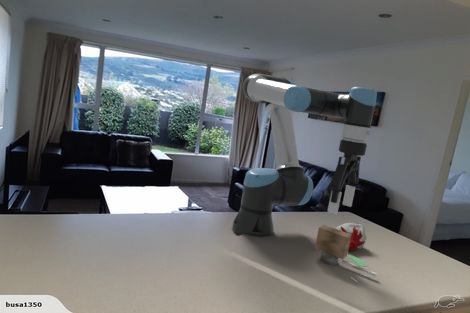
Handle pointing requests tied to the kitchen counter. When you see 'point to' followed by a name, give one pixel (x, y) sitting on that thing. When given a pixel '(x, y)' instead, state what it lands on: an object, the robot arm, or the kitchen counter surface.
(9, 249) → the kitchen counter surface
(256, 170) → the robot arm
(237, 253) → the kitchen counter surface
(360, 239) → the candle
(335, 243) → the knob
